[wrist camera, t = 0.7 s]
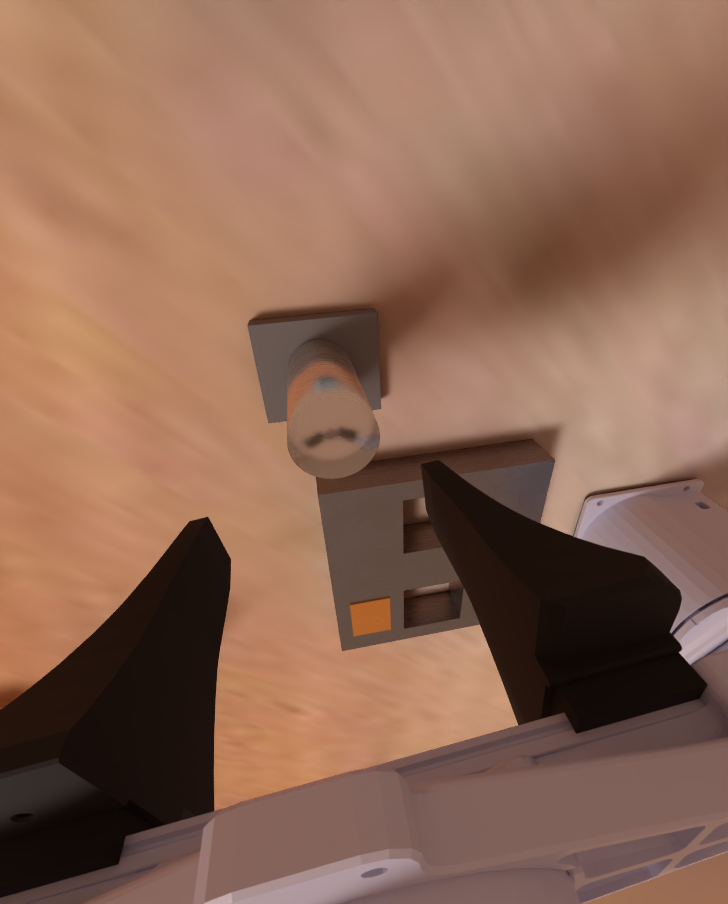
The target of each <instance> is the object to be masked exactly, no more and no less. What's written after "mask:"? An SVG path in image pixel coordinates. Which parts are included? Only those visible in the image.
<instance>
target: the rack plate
mask: <svg viewBox="0 0 728 904" xmlns="http://www.w3.org/2000/svg"><path fill="white" fill-rule="evenodd" d="M435 460H439V461H441V462H442V463H444V464H445V465H446V466H447V467H449V468H450V469H451V470H453V471H454V472H455V473H456V474H458V475H459V476H460V477H462V478H463V479H465V480H466V481H467V482H469V483H470V484H471V485H473V486H474V487H476V488H477V489H479V490H480V491H482V492H483V493H485V494H486V495H488V496H489V497H491V498H493V499H494V500H496V501H498V502H499V503H501V504H503V505H504V506H506V507H508V508H510V509H511V510H513V511H515V512H517V513H519V514H521V515H523V516H525V517H527V518H529V519H531V520H534V521H536V522H538V523H540V520H541V516H542V512H543V508H544V504H545V500H546V496H547V491H548V487H549V483H550V479H551V475H552V471H553V467H554V463H555V459H554V458H553V457H552V456H550V455H549V454H548V453H547V452H546V451H545V450H544V449H543V448H542V447H541V446H540V445H539V444H538V443H537V442H535V441H534V440H533V439H530V440H523V441H515V442H508V443H501V444H494V445H487V446H480V447H473V448H466V449H459V450H452V451H445V452H438V453H431V454H424V455H417V456H410V457H403V458H396V459H389V460H382V461H375V462H369V463H368V464H367V465H366V466H365V467H364V468H362V469H361V470H360V471H358V472H356V473H354V474H352V475H350V476H347V477H343V478H337V479H325V478H319V477H316V482H317V491H318V499H319V506H320V512H321V518H322V525H323V531H324V538H325V544H326V551H327V557H328V564H329V570H330V577H331V583H332V590H333V596H334V602H335V609H336V615H337V622H338V628H339V635H340V641H341V648H342V651H345V650H350V649H355V648H361V647H366V646H371V645H376V644H381V643H386V642H392V641H397V640H402V639H407V638H412V637H417V636H423V635H428V634H433V633H438V632H443V631H448V630H454V629H459V628H464V627H469V626H474V625H479V624H480V623H479V621H478V618H477V616H476V613H475V611H474V609H473V606H472V604H471V601H470V599H469V597H468V595H467V593H466V591H465V589H464V587H463V585H462V583H461V581H460V579H459V578H458V576H457V574H456V572H455V570H454V568H453V566H452V565H451V563H450V561H449V559H448V557H447V555H446V553H445V551H444V550H443V548H442V546H441V544H440V542H439V540H438V538H437V536H436V534H435V532H434V529H433V526H432V524H431V521H430V522H424V523H418V524H412V525H406V526H403V501H404V500H410V499H416V498H423V497H425V496H424V488H423V479H422V471H421V464H423V463H427V462H431V461H435ZM443 583H449V591H448V592H442V593H437V594H432V595H426V596H421V597H415V598H410V599H404V590H410V589H415V588H421V587H426V586H432V585H438V584H443Z"/></svg>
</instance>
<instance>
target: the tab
mask: <svg viewBox="0 0 728 904" xmlns="http://www.w3.org/2000/svg"><path fill="white" fill-rule="evenodd" d="M248 330H249V335H250V339H251V344H252V349H253V353H254V358H255V363H256V367H257V372H258V377H259V381H260V386H261V391H262V395H263V400H264V405H265V409H266V414H267V419H268V423H274V422H282V421H287V366H288V361H289V358H290V356H291V354H292V353H293V351H294V350H295V349H296V348H297V347H298V346H299V345H301V344H302V343H304V342H306V341H308V340H312V339H328V340H331V341H334V342H335V343H337V344H339V345H340V346H341V347H342V348H343V349H344V350H345V351H346V352H347V354H348V355H349V357H350V360H351V362H352V365H353V367H354V369H355V372H356V374H357V376H358V379H359V381H360V383H361V386H362V388H363V391H364V393H365V395H366V398H367V400H368V402H369V405H370V407H371V410H376V409H381V390H380V364H379V338H378V313H377V312H376V311H375V309H374V308H372V309H362V310H352V311H342V312H331V313H321V314H311V315H301V316H291V317H281V318H270V319H260V320H250V321H249V323H248Z"/></svg>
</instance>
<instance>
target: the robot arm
mask: <svg viewBox="0 0 728 904" xmlns="http://www.w3.org/2000/svg"><path fill="white" fill-rule="evenodd" d="M421 471H422V479H423V488H424V496H425V504H426V511H427V513H428V516H429V519H430V521H431V524H432V526H433V529H434V532H435V534H436V536H437V538H438V540H439V542H440V544H441V546H442V548H443V550H444V551H445V553H446V555H447V557H448V559H449V561H450V563H451V565H452V566H453V568H454V570H455V572H456V574H457V576H458V578H459V579H460V581H461V583H462V585H463V587H464V589H465V591H466V593H467V595H468V597H469V599H470V601H471V604H472V606H473V609H474V611H475V613H476V616H477V618H478V621H479V623H480V626H481V628H482V631H483V633H484V636H485V638H486V641H487V643H488V646H489V648H490V651H491V653H492V656H493V658H494V661H495V664H496V666H497V669H498V671H499V674H500V677H501V679H502V682H503V684H504V687H505V690H506V692H507V695H508V698H509V701H510V703H511V706H512V709H513V712H514V714H515V717H516V720H517V723H518V726H515V727H511V728H508V729H504V730H500V731H497V732H493V733H490V734H486V735H483V736H479V737H476V738H472V739H468V740H465V741H461V742H458V743H454V744H451V745H447V746H444V747H440V748H437V749H433V750H429V751H426V752H422V753H419V754H415V755H412V756H408V757H405V758H401V759H398V760H394V761H390V762H387V763H383V764H380V765H376V766H373V767H369V768H366V769H361V770H355V771H350V772H346V773H342V774H339V775H335V776H332V777H328V778H325V779H321V780H318V781H314V782H311V783H307V784H303V785H300V786H296V787H293V788H289V789H286V790H282V791H279V792H275V793H272V794H268V795H264V796H261V797H257V798H254V799H250V800H247V801H243V802H240V803H237V804H235V805H233V806H230V807H227V808H224V809H220V810H217V811H214V723H215V698H216V682H217V667H218V659H219V652H220V646H221V640H222V634H223V628H224V622H225V617H226V611H227V604H228V598H229V592H230V578H231V559H230V557H229V555H228V553H227V551H226V549H225V547H224V546H223V544H222V542H221V540H220V538H219V536H218V534H217V533H216V531H215V529H214V527H213V525H212V523H211V521H210V520H209V518H208V517H205V518H201V519H197V520H193V521H190V522H189V523H188V524H187V525H186V526H185V527H184V529H183V530H182V531H181V532H180V534H179V535H178V536H177V538H176V539H175V540H174V542H173V543H172V544H171V545H170V547H169V548H168V549H167V551H166V552H165V553H164V554H163V556H162V557H161V558H160V560H159V561H158V562H157V563H156V565H155V566H154V567H153V568H152V570H151V571H150V572H149V573H148V575H147V576H146V577H145V578H144V579H143V580H142V582H141V583H140V584H139V585H138V586H137V587H136V589H135V590H134V591H133V592H132V593H131V595H130V596H129V597H128V598H127V599H126V600H125V601H124V602H123V604H122V605H121V606H120V607H119V608H118V609H117V610H116V611H115V612H114V613H113V614H112V615H111V616H110V617H109V618H108V619H107V620H106V621H105V622H104V623H103V624H102V625H101V626H100V627H99V628H98V629H97V630H96V631H95V632H94V633H93V634H92V635H91V636H90V637H89V638H88V639H87V640H85V641H84V642H83V643H82V644H81V645H80V646H79V647H78V648H77V649H75V650H74V651H73V652H72V653H71V654H70V655H69V656H68V657H67V658H66V659H64V660H63V661H62V662H61V663H60V664H59V665H57V666H56V667H55V668H54V669H53V670H51V671H50V672H49V673H48V674H47V675H45V676H44V677H43V678H42V679H41V680H39V681H38V682H37V683H35V684H34V685H33V686H32V687H30V688H29V689H28V690H27V691H25V692H24V693H23V694H22V695H20V696H19V697H18V698H16V699H15V700H14V701H12V702H11V703H10V704H8V705H7V706H6V707H4V708H3V709H1V710H0V904H584V903H587V902H590V901H593V900H596V899H598V898H601V897H604V896H607V895H609V894H612V893H615V892H618V891H621V890H623V889H626V888H629V887H632V886H634V885H637V884H640V883H643V882H645V881H648V880H651V879H654V878H657V877H659V876H662V875H665V874H667V873H670V872H673V871H676V870H679V869H681V868H684V867H687V866H690V865H693V864H695V863H698V862H701V861H703V860H706V859H709V858H712V857H715V856H718V855H721V854H723V853H726V852H728V511H727V510H726V509H724V508H723V507H721V506H720V505H718V504H717V503H715V502H714V501H713V500H711V499H710V498H708V497H707V496H705V495H704V494H702V493H701V490H702V488H703V486H704V482H703V481H701V480H700V479H693V480H687V481H681V482H675V483H668V484H662V485H656V486H650V487H644V488H638V489H631V490H625V491H619V492H613V493H607V494H600V495H594V496H590V497H588V498H587V499H586V500H585V502H584V505H583V508H582V511H581V515H580V518H579V521H578V524H577V527H576V531H575V534H574V536H571V535H568V534H565V533H563V532H560V531H558V530H555V529H553V528H550V527H548V526H545V525H543V524H540V523H538V522H536V521H534V520H531V519H529V518H527V517H525V516H523V515H521V514H519V513H517V512H515V511H513V510H511V509H510V508H508V507H506V506H504V505H503V504H501V503H499V502H498V501H496V500H494V499H493V498H491V497H489V496H488V495H486V494H485V493H483V492H482V491H480V490H479V489H477V488H476V487H474V486H473V485H471V484H470V483H469V482H467V481H466V480H465V479H463V478H462V477H460V476H459V475H458V474H456V473H455V472H454V471H453V470H451V469H450V468H449V467H447V466H446V465H445V464H444V463H442V462H441V461H439V460H435V461H431V462H427V463H423V464H421Z"/></svg>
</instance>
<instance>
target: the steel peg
mask: <svg viewBox="0 0 728 904" xmlns="http://www.w3.org/2000/svg"><path fill="white" fill-rule="evenodd" d="M379 441H380V432H379V427H378V424H377V421H376V419H375V417H374V414H373V412H372V410H371V407H370V405H369V402H368V400H367V398H366V395H365V393H364V391H363V388H362V386H361V383H360V381H359V379H358V376H357V374H356V372H355V369H354V367H353V365H352V362H351V360H350V357H349V355H348V354H347V352H346V351H345V350H344V349H343V348H342V347H341V346H340V345H339V344H337V343H335V342H334V341H331V340H328V339H312V340H308V341H306V342H304V343H302V344H301V345H299V346H298V347H297V348H296V349H295V350H294V351H293V353H292V354H291V356H290V358H289V361H288V366H287V445H288V450H289V453H290V455H291V457H292V459H293V461H294V462H295V463H296V464H297V466H299V467H300V468H301V469H302V470H303V471H305V472H306V473H308V474H310V475H313V476H316V477H319V478H325V479H337V478H343V477H347V476H350V475H352V474H354V473H356V472H358V471H360V470H361V469H362V468H364V467H365V466H366V465H367V464H368V463H369V462H370V461H371V460H372V458H373V457H374V455H375V453H376V451H377V449H378V446H379Z"/></svg>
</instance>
